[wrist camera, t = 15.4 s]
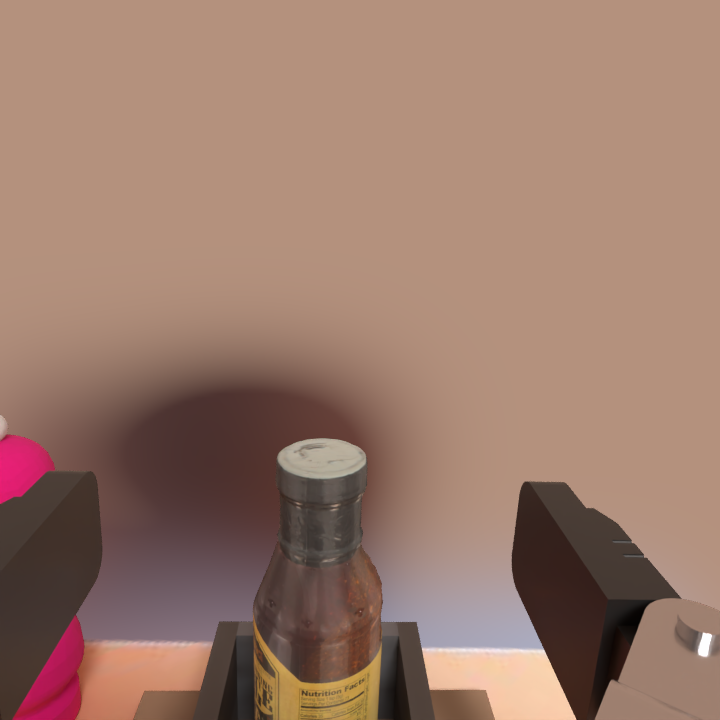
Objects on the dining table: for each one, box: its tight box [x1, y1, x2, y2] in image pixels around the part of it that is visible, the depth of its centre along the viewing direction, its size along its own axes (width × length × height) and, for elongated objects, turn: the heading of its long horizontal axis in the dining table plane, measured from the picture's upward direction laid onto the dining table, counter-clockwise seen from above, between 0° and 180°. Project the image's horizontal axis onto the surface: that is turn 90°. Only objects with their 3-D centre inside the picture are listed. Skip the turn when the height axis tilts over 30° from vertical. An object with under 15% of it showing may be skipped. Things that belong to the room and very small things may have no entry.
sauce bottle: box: [253, 438, 383, 720], centre depth 30 cm, size 7×6×20 cm
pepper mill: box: [0, 415, 84, 720], centre depth 35 cm, size 7×7×20 cm
